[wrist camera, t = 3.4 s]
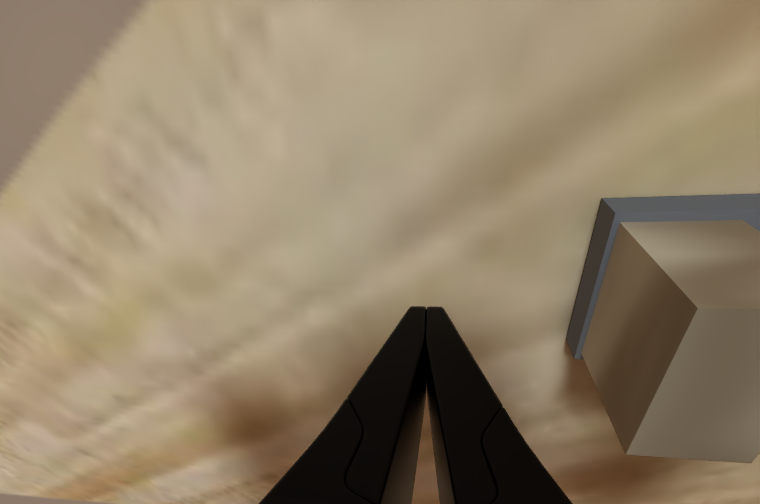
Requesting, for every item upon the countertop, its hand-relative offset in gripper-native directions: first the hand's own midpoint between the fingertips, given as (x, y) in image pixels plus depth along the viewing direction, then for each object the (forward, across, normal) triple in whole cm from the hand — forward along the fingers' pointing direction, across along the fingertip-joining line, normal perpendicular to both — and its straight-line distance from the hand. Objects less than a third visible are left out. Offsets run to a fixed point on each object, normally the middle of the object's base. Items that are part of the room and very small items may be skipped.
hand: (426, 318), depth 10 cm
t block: (+1, -8, 0) cm, 8 cm away
